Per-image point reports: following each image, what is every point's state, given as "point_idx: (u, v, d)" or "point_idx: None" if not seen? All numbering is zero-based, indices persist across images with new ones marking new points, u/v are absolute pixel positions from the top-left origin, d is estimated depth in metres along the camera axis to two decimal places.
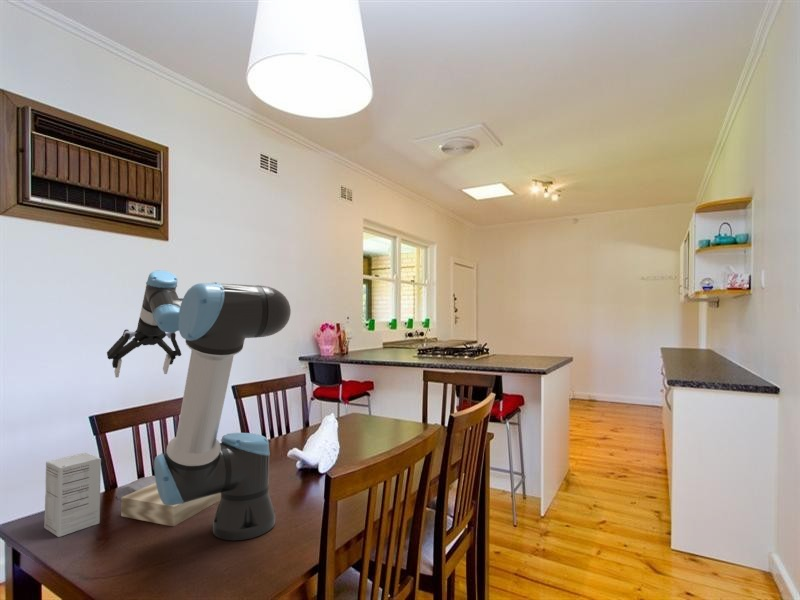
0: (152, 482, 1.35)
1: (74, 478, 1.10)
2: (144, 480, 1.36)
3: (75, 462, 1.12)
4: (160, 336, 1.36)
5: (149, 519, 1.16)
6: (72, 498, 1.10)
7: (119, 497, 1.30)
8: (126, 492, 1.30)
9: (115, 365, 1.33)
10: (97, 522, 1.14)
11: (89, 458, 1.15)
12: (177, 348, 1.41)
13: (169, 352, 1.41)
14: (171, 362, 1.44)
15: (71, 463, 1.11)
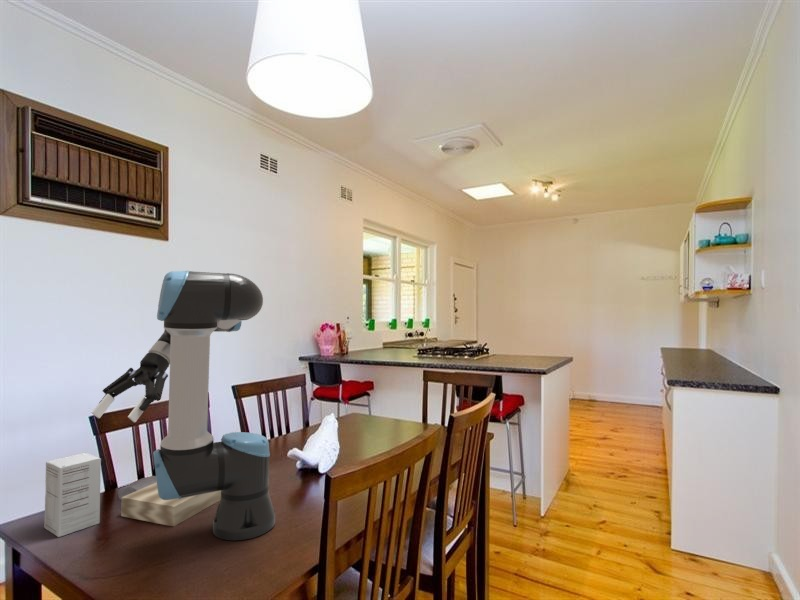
0: (154, 482, 1.35)
1: (74, 478, 1.10)
2: (145, 480, 1.36)
3: (74, 462, 1.12)
4: (151, 372, 1.34)
5: (149, 519, 1.16)
6: (72, 498, 1.10)
7: (121, 497, 1.30)
8: (128, 492, 1.30)
9: None
10: (97, 522, 1.14)
11: (89, 458, 1.15)
12: (156, 386, 1.29)
13: (147, 390, 1.28)
14: (142, 405, 1.25)
15: (71, 463, 1.11)
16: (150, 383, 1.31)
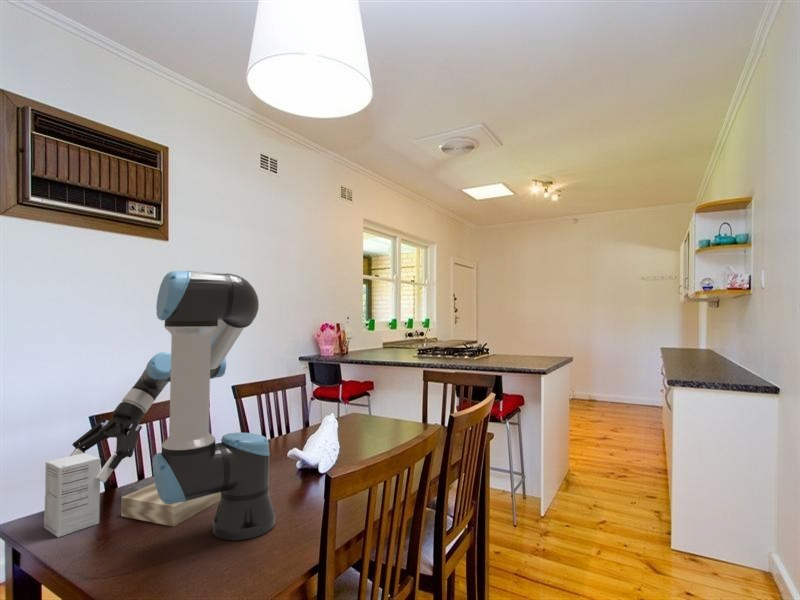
0: None
1: (74, 478, 1.10)
2: (149, 480, 1.36)
3: (74, 462, 1.12)
4: (124, 424, 1.26)
5: (149, 519, 1.16)
6: (72, 498, 1.10)
7: None
8: (131, 492, 1.30)
9: None
10: (97, 522, 1.14)
11: (89, 458, 1.15)
12: (128, 441, 1.21)
13: (118, 445, 1.20)
14: (112, 463, 1.17)
15: (70, 463, 1.11)
16: (122, 437, 1.23)
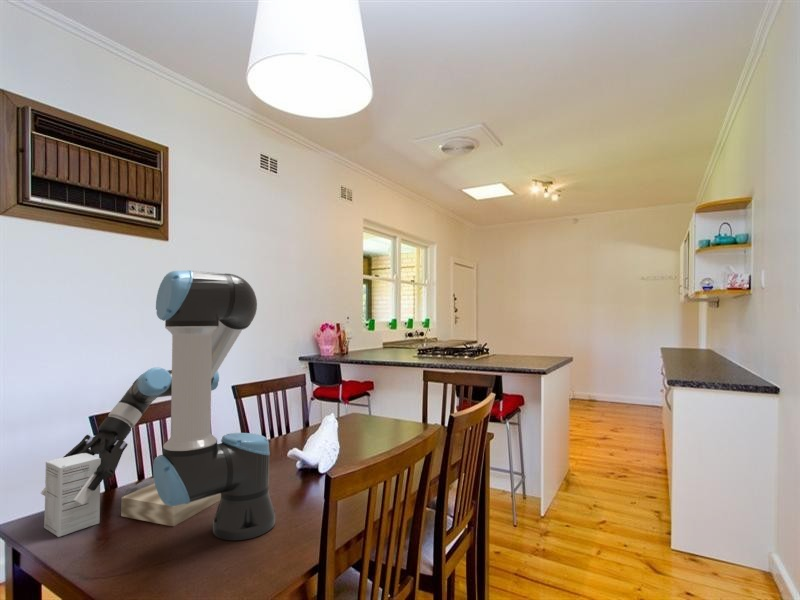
0: None
1: (74, 478, 1.10)
2: (151, 481, 1.36)
3: (74, 461, 1.12)
4: (110, 440, 1.21)
5: (149, 519, 1.16)
6: (72, 498, 1.10)
7: None
8: None
9: None
10: (97, 522, 1.14)
11: (89, 458, 1.15)
12: (110, 461, 1.15)
13: (100, 465, 1.15)
14: (91, 484, 1.12)
15: (71, 463, 1.11)
16: (105, 455, 1.18)
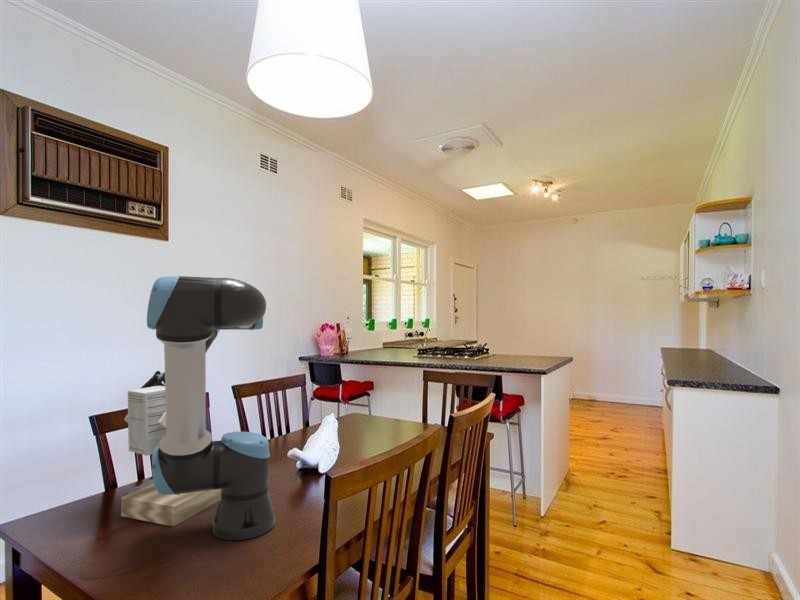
0: None
1: (157, 404, 1.21)
2: None
3: (155, 389, 1.22)
4: None
5: (149, 519, 1.16)
6: (156, 421, 1.20)
7: None
8: None
9: None
10: None
11: None
12: None
13: None
14: None
15: (153, 390, 1.21)
16: None
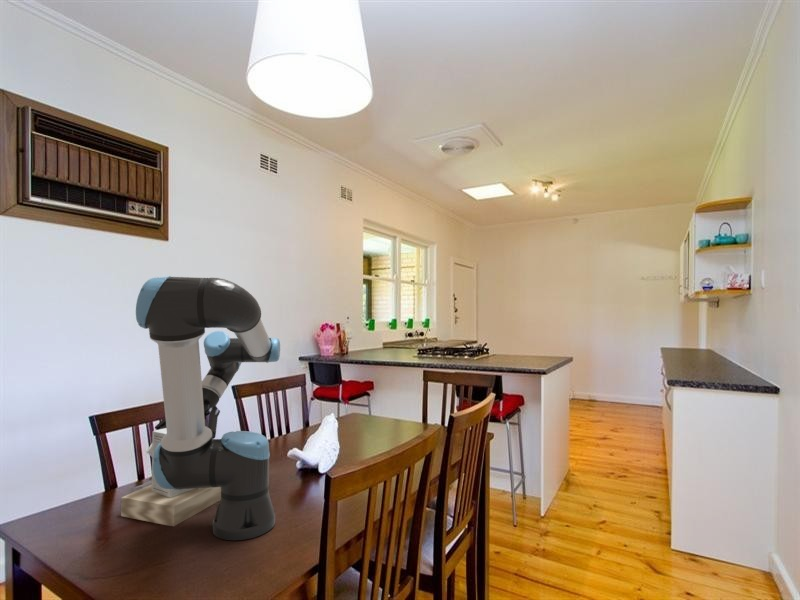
0: None
1: None
2: None
3: None
4: (203, 408, 1.32)
5: (149, 519, 1.16)
6: None
7: None
8: None
9: None
10: None
11: None
12: (210, 424, 1.27)
13: None
14: None
15: None
16: None
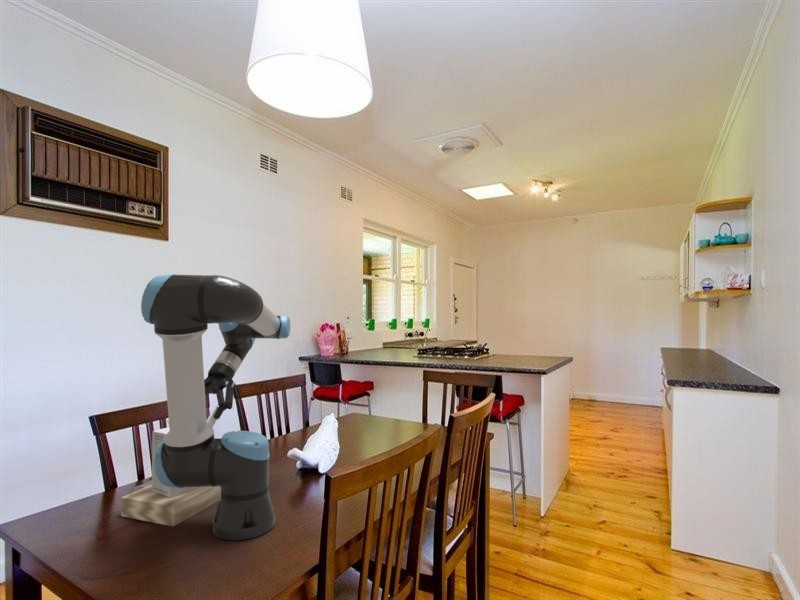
0: None
1: None
2: None
3: None
4: (220, 381, 1.39)
5: (149, 519, 1.16)
6: None
7: None
8: None
9: None
10: None
11: None
12: (227, 395, 1.34)
13: (219, 399, 1.33)
14: (216, 413, 1.30)
15: None
16: (220, 392, 1.36)
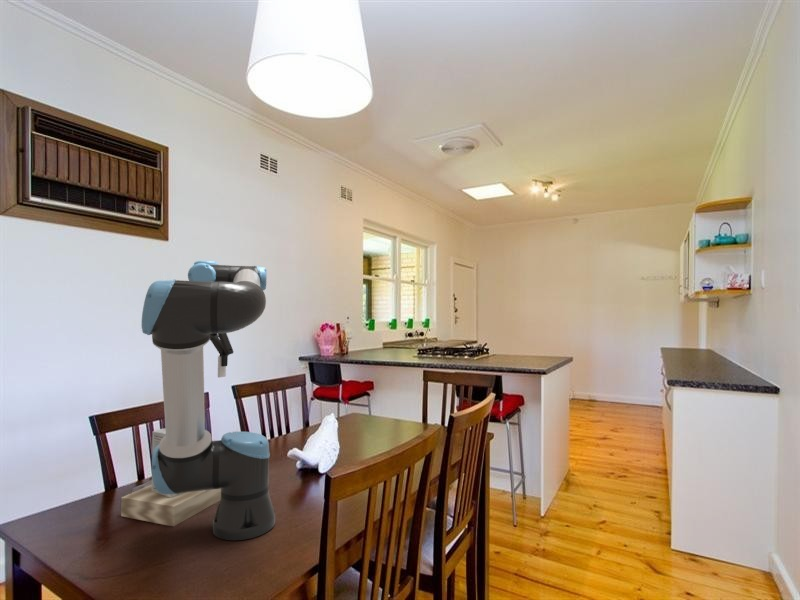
0: None
1: None
2: None
3: None
4: None
5: (149, 519, 1.16)
6: None
7: None
8: None
9: None
10: None
11: None
12: (223, 344, 1.38)
13: (218, 348, 1.39)
14: (223, 363, 1.38)
15: None
16: (215, 339, 1.40)
